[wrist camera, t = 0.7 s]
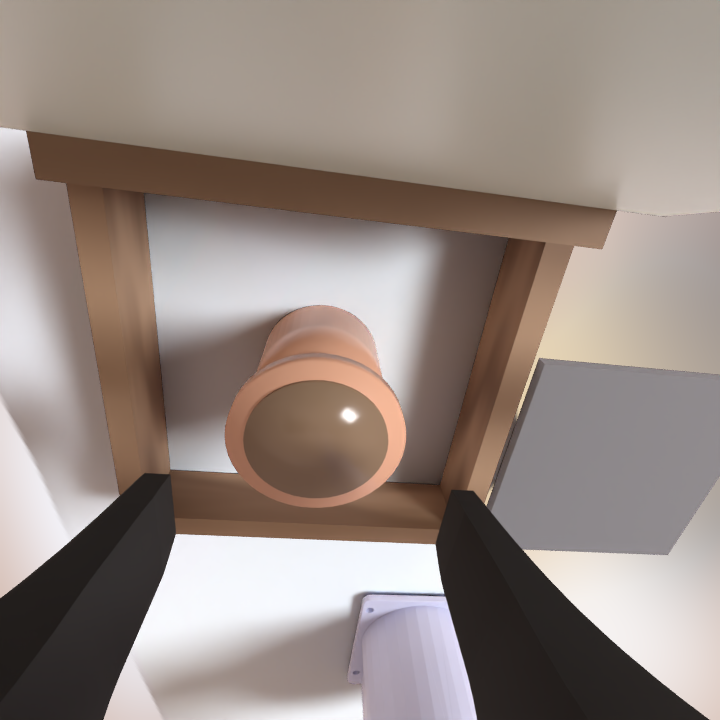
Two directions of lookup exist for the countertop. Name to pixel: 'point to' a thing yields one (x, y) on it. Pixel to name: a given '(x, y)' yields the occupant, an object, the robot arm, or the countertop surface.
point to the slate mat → (608, 458)
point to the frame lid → (392, 89)
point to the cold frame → (318, 196)
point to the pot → (316, 413)
